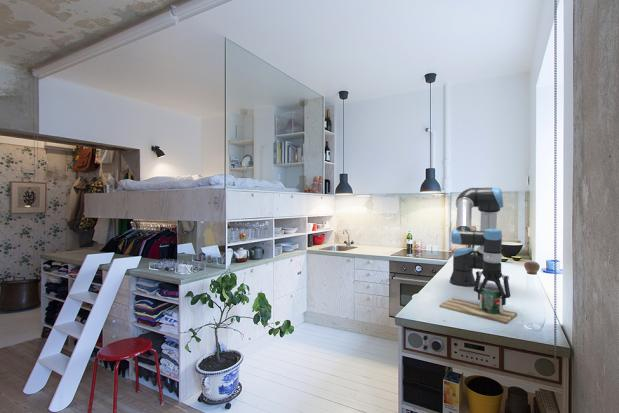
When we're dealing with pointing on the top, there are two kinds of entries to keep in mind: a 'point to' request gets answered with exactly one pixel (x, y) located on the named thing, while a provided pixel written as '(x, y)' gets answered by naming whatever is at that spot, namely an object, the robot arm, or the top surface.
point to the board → (477, 310)
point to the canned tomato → (491, 300)
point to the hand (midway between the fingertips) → (491, 309)
